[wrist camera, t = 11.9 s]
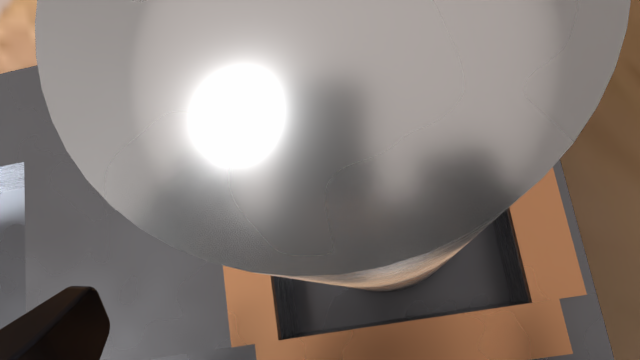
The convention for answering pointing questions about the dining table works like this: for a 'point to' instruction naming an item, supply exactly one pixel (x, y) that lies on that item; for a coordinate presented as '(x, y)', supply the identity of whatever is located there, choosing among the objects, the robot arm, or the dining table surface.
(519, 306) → the socket rail
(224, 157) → the steel peg
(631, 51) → the dining table surface
